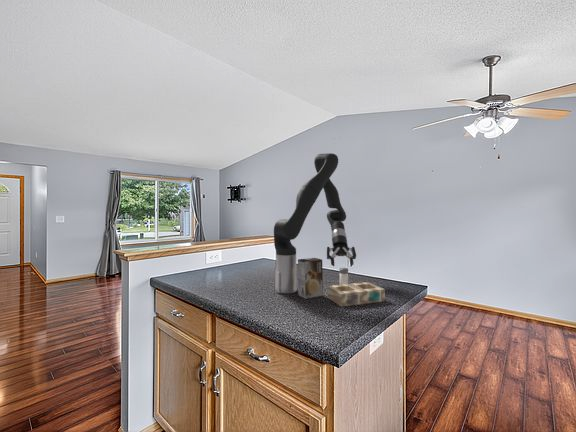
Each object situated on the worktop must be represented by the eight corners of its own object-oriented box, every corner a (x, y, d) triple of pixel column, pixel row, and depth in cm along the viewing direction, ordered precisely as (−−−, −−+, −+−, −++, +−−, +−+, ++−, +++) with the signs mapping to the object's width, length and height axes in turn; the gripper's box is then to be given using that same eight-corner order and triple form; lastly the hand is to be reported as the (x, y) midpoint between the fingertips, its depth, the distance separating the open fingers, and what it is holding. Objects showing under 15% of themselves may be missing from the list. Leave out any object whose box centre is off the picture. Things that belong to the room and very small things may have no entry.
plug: (342, 291, 132) (342, 269, 132) (338, 289, 136) (338, 268, 136) (349, 290, 133) (349, 269, 133) (345, 288, 137) (345, 267, 137)
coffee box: (315, 292, 131) (315, 257, 131) (323, 295, 126) (323, 259, 125) (297, 295, 127) (297, 259, 127) (305, 299, 121) (305, 261, 121)
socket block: (341, 306, 112) (341, 294, 111) (327, 297, 123) (327, 285, 123) (385, 301, 118) (385, 289, 117) (368, 293, 129) (368, 282, 129)
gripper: (325, 234, 147) (328, 261, 136) (354, 234, 146) (358, 261, 135) (325, 243, 153) (327, 269, 141) (352, 243, 152) (356, 269, 141)
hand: (342, 265), depth 138 cm, fingers open, 8 cm apart
